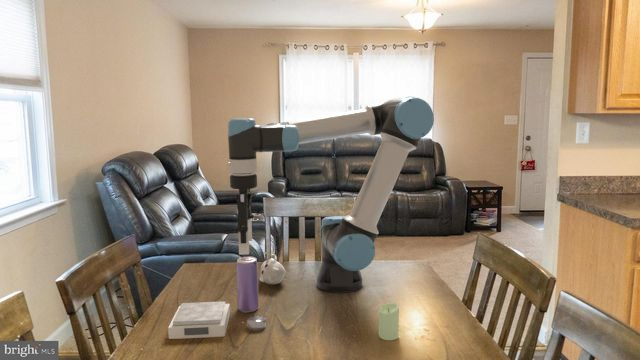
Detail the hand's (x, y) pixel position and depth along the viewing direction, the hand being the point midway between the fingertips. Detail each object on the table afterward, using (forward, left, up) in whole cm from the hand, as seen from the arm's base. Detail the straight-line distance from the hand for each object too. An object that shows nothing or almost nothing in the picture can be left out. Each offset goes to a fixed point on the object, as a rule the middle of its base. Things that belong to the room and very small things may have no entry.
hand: (245, 247), depth 138 cm
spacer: (-3, +12, -19) cm, 23 cm away
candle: (-37, +21, -19) cm, 46 cm away
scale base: (+12, +10, -19) cm, 24 cm away
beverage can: (0, 0, -19) cm, 19 cm away
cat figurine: (-7, -21, -19) cm, 29 cm away
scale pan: (+12, +10, -15) cm, 22 cm away
